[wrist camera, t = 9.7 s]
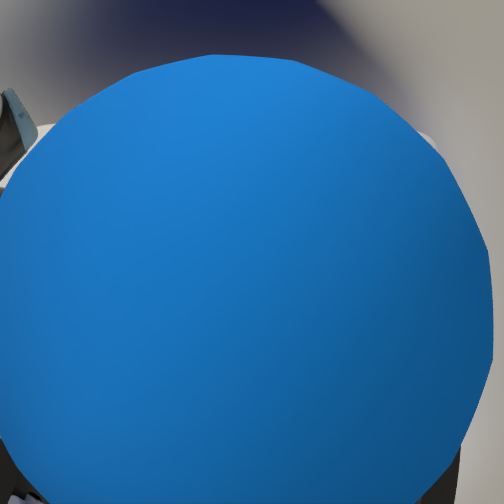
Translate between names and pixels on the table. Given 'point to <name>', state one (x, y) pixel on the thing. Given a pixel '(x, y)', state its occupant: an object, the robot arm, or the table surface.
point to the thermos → (238, 295)
